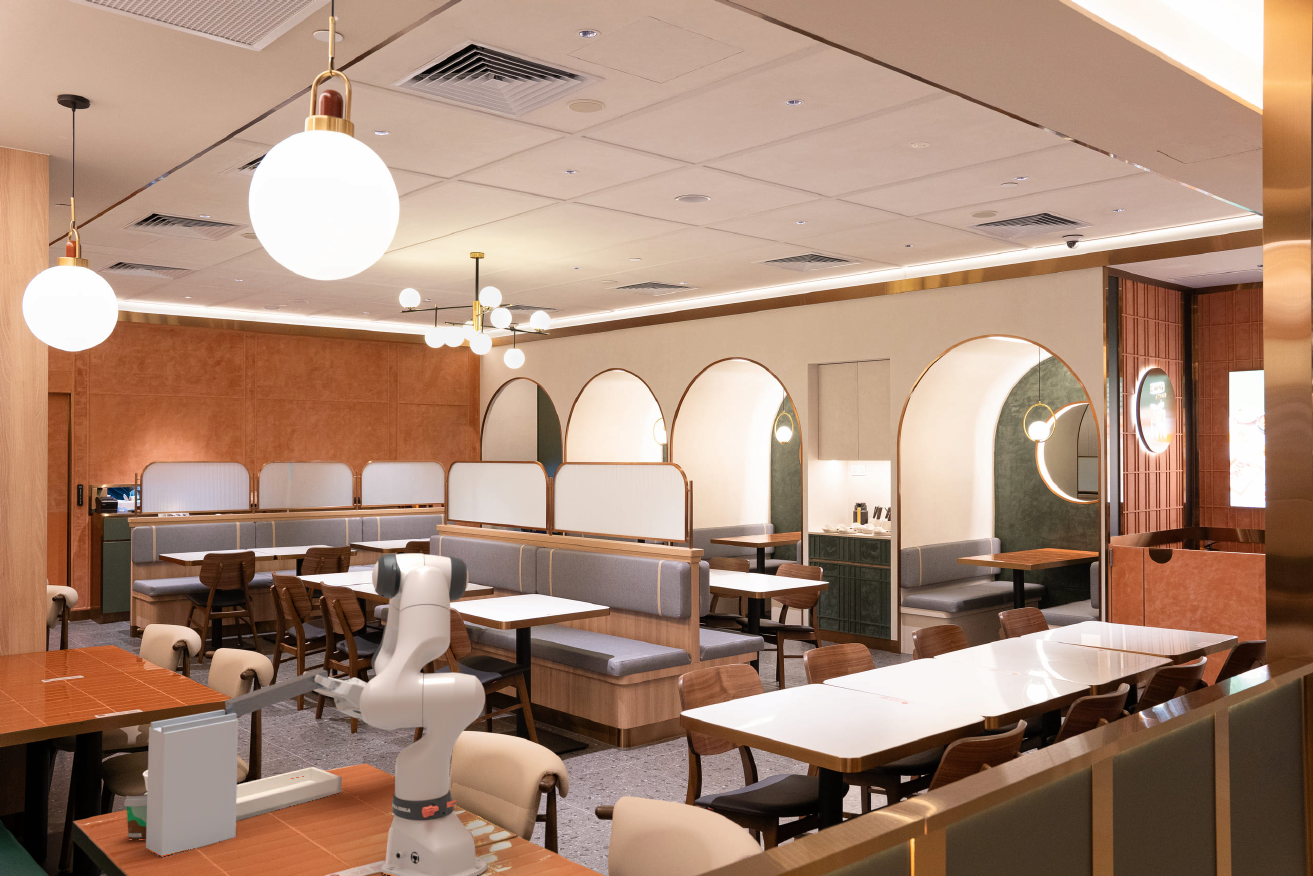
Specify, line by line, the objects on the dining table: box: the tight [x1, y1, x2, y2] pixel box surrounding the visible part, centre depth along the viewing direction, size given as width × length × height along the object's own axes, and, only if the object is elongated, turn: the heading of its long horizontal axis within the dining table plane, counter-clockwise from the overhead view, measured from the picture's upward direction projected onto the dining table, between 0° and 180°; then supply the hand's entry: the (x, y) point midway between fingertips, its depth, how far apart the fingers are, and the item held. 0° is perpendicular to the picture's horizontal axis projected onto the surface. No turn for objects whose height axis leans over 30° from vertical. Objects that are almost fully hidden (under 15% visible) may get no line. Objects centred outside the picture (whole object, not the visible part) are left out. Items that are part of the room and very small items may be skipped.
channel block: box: [145, 709, 239, 856], centre depth 215 cm, size 8×16×27 cm, turn 139°
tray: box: [236, 766, 343, 822], centre depth 242 cm, size 14×31×4 cm, turn 139°
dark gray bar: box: [224, 668, 329, 718], centre depth 231 cm, size 4×24×4 cm, turn 139°
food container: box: [123, 790, 147, 840], centre depth 219 cm, size 12×6×10 cm, turn 161°
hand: (309, 676), depth 237 cm, fingers closed on dark gray bar, 3 cm apart
